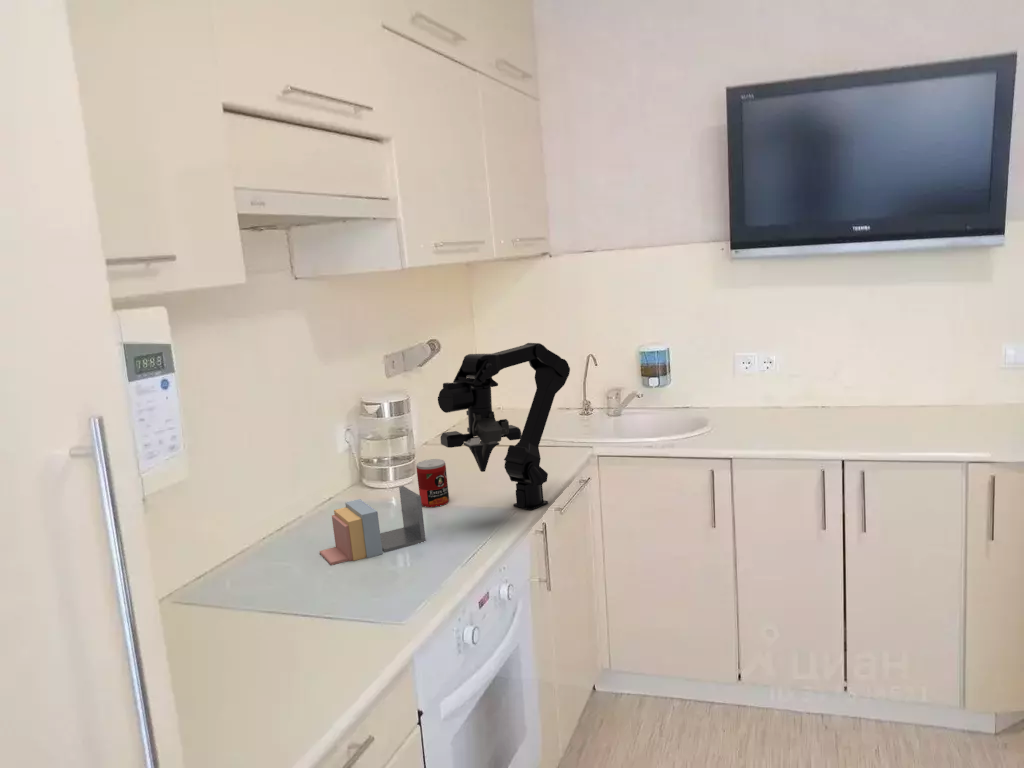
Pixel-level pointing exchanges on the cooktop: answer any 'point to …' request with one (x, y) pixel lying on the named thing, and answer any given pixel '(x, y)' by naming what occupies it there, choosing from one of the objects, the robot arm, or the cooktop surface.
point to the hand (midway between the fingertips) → (482, 471)
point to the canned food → (432, 482)
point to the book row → (354, 533)
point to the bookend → (406, 523)
